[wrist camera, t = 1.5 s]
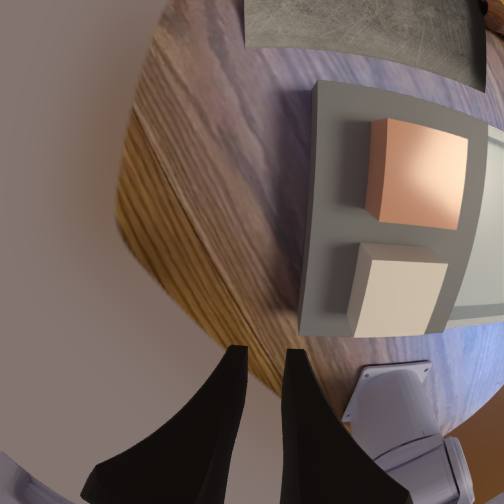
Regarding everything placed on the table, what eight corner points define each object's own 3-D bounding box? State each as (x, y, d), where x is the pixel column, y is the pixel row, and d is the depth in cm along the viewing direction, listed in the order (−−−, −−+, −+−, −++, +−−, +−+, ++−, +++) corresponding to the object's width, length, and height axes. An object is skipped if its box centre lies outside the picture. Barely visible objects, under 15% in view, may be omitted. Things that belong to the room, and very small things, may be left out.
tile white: (410, 313, 17) (423, 334, 14) (346, 313, 17) (353, 337, 15) (429, 247, 15) (448, 263, 12) (360, 242, 15) (372, 259, 13)
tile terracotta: (435, 217, 14) (456, 229, 12) (364, 209, 14) (378, 221, 12) (444, 137, 12) (467, 139, 10) (371, 121, 13) (387, 118, 10)
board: (429, 311, 20) (442, 332, 17) (297, 311, 21) (298, 335, 18) (464, 122, 14) (488, 122, 11) (311, 89, 15) (317, 79, 12)
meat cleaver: (245, 62, 15) (236, 42, 11) (245, -50, 10) (238, -78, 7) (558, 147, 12) (582, 154, 8) (548, 57, 7) (570, 56, 4)
